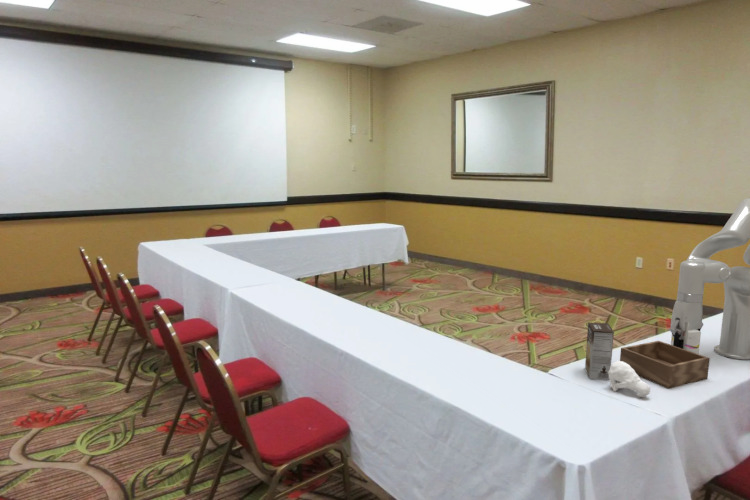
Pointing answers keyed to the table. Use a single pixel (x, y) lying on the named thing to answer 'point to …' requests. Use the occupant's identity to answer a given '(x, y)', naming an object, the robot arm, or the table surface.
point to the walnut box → (666, 364)
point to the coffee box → (599, 350)
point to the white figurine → (627, 379)
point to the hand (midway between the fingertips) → (684, 347)
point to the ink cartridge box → (690, 340)
